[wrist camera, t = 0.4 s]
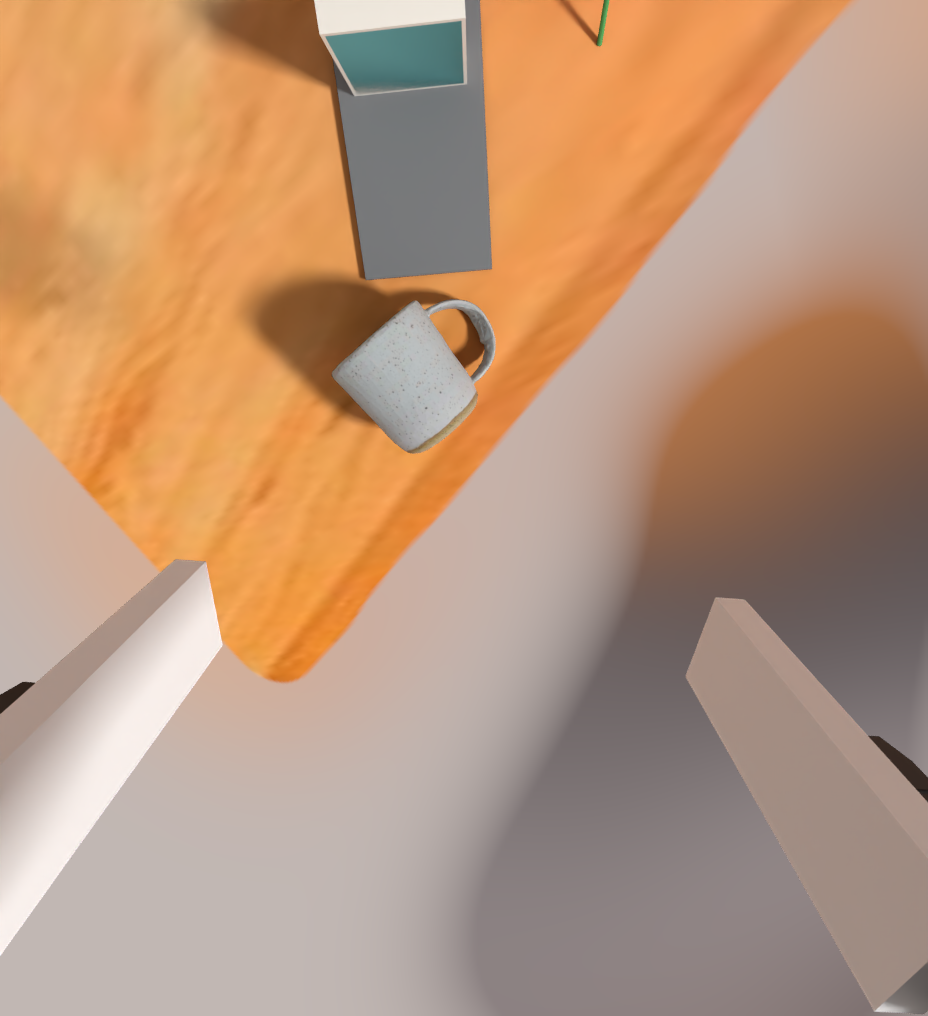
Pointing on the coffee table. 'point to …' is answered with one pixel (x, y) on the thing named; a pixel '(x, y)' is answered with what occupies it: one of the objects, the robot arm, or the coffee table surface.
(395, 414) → the ceramic mug
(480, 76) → the mat
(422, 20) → the tile
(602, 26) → the lily
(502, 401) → the coffee table surface
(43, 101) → the coffee table surface
